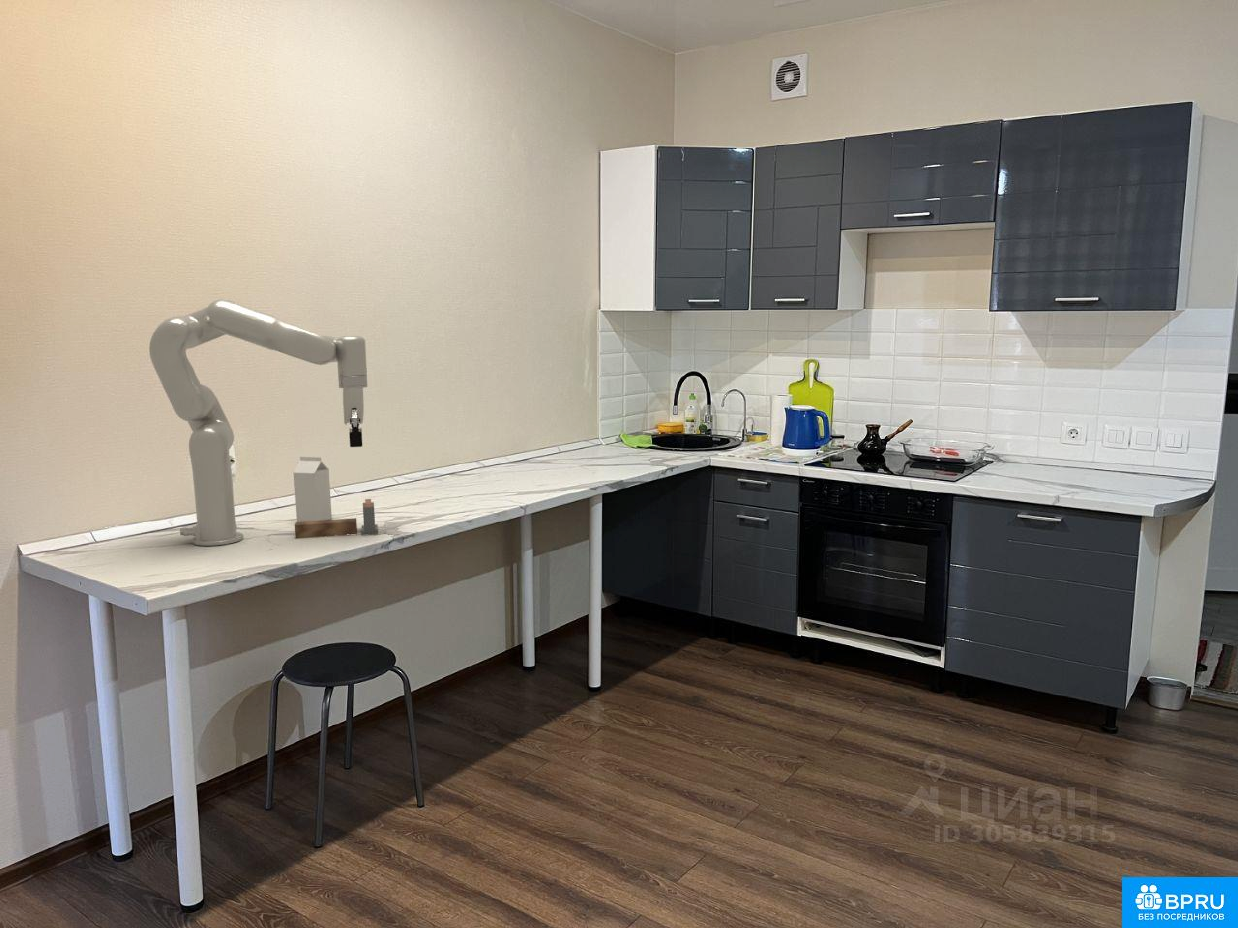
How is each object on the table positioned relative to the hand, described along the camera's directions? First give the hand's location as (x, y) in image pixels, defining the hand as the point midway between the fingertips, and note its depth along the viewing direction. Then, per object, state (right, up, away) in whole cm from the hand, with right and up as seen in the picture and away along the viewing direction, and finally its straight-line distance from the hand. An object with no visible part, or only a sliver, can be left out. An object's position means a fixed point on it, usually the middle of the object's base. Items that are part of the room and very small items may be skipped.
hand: (356, 444), depth 259 cm
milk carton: (-17, -22, +18) cm, 34 cm away
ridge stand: (+3, -24, +4) cm, 25 cm away
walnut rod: (-8, -25, +1) cm, 26 cm away
